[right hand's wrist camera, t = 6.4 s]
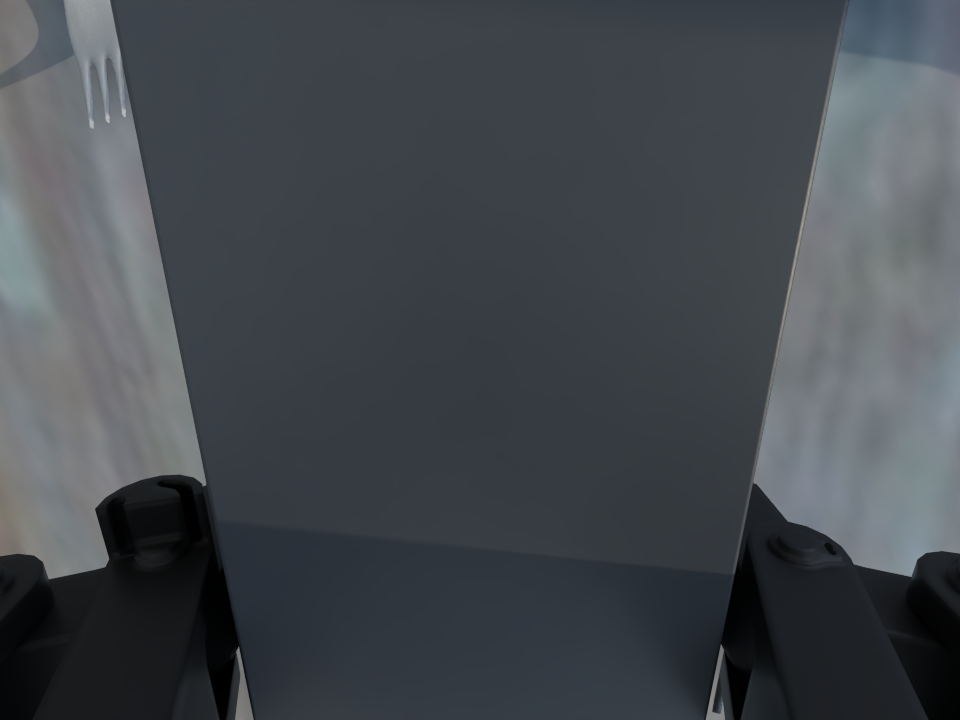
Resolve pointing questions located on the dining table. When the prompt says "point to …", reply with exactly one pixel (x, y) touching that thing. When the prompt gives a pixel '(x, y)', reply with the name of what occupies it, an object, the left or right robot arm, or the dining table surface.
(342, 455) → the bar
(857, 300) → the dining table surface
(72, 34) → the fork
